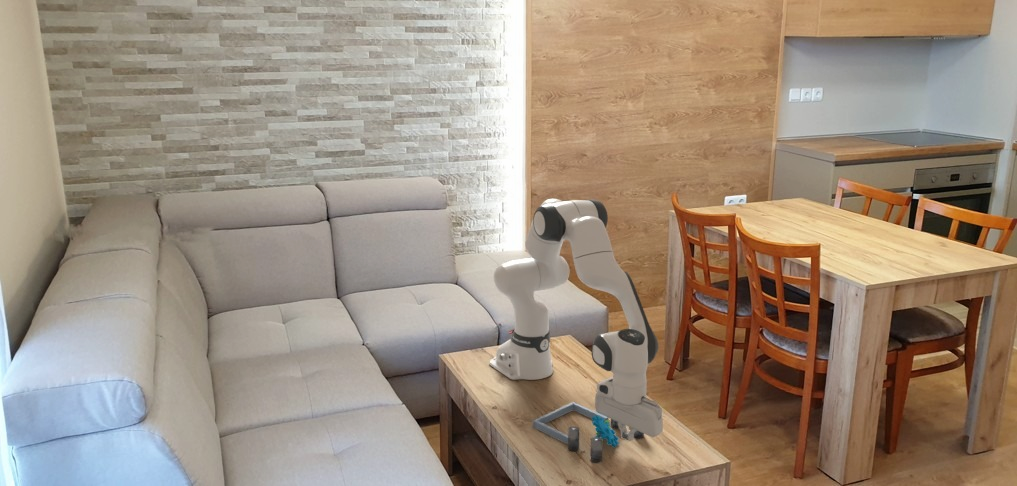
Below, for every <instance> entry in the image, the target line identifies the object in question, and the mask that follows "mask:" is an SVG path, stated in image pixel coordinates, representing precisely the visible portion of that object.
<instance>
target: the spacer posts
mask: <svg viewBox="0 0 1017 486" xmlns="http://www.w3.org/2000/svg"><path fill="white" fill-rule="evenodd" d="M610 427H611V429H613V430H615V429H617V430H618V429H619V427H618V422H617V421H615V420H613V419H611V418H610ZM567 430H568V431H567V435H568V444H567V450H568V451H569V452H578V451H580V427H579V426H576V425H570V426H568V428H567ZM619 430H620V429H619ZM644 437H645V434H644V433H642V432H640V431H637V430H636V432H635V433H634V438H633V439H636V440H642V439H644ZM603 443H604V440H603V439H602V438H601V437H595V436H592V437H591V438H590V462H592V463H593V464H600V463H602V461H603Z"/></svg>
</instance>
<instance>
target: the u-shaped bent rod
mask: <svg viewBox="0 0 1017 486" xmlns="http://www.w3.org/2000/svg"><path fill="white" fill-rule="evenodd" d="M572 411H574V412H576V413H579V414H581V415H582V416H583V415H584V416H585V417H587V418H590V419H592V418H593V417H594V416H595V415H598V416H599V417H600V418H601V417H602V418H603V419H604V420H605V421H606V420H608V421H609V418H608V417H606V416H604V415H602V414H599V413H597V411H596V410H593V409H590V408H588V407H586V406H583V405H582V404H579V403H577V402H574V401H572V402H569V403H567V404H565V405H563V406H561V407H558V408H557V409H555V410H553V411H551V412H548V413H546V414H544V415H542V416H540V417H538V418H536V419H534V420H532V428H534V429H536V430H538V431H540V432H542V433H544V434H545V435H548V436H550V437H552V438H554V439H555V440H558V441H560V442H561V443H563V444H565V445H568V434H566V433H564V432H562V431H560V430H558V429H555V428H554V427H552V426H550V425H547V423H549V422H551V421H553V420H556V419H557V418H560V417H562V416H564V415H566V414H568V413H570V412H572ZM605 421H604V422H605Z"/></svg>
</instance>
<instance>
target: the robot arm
mask: <svg viewBox="0 0 1017 486" xmlns="http://www.w3.org/2000/svg"><path fill="white" fill-rule="evenodd" d="M608 215H609V214H608V212H607V209H606V207H605V205H604V204H603V203H602V202H601V201H599V200H596V199H586V200H585V199H581V200H580V199H571V200H566V201H563V200H561V199H558V198H548V199H546V200H544V201H543V202H542V203H541V204H540V206H538V207H537V208H536V210H535V212H534V213H533V216H532V217H533V218H532V221H531V224H530V226H529V229H528V232H527V235H526V238H525V241H524V247H525V251H526V252H527V254H528V255H529V257H525V258H517V259H511V260H508V261H505V262H503V263H499V265H497V267H496V268H495V270H494V272H493V273H494V274H493V282H494V285H495V287H496V289H497V290H498V291H499V293H501V294H503V295H504V296H506V298H507V299H509V301H510V303H511V305H512V309H513V315H514V317H513V318H514V328H513V329H511V330H509V331H508V332H509V333H508V334H509V335H511V337H510V339H508V340H507V341H505V342H503V343H502V344H500V345H499V347H497V350H496V356H494V357H493V358H491V359H490V360H489V363H488V365H489V366H490V367H492V368H493V369H495V370H497V371H498V372H499V373H501V374H502V375H504V376H505V377H506V378H508V379H509V380H514V381H515V380H529V381H530V380H531V381H532V380H534V381H535V380H536V381H537V380H542V379H545V378H547V377H550V376H551V375H552V374H553V373H554V369H553V360H552V356H551V354H552V353H551V347H550V346H551V345H550V341H551V332H550V330H549V327H550V324H549V321H550V319H549V318H550V312H549V309H548V307H547V305H546V304H545V303H544V302H542V301H540V300H537V299H535V292H540V291H545V290H551V289H555V288H557V287H560V286H561V285H565V284H566V283H567V282H568V279H569V276H570V266H569V264H568V262H567V260H566V259H565V258H564V257H563V256H562V255H560V253H561V249H562V246H563V244H564V241H567V242H569V245H570V248H571V253H572V259H573V264H574V268H575V272H576V275H577V278H578V279H579V280H580V281H581V283H583V285H586V286H587V287H588V288H590V289H591V288H592V289H593V290H597V291H602V292H605V293H608V294H610V295H613V296H614V297H616V299H617V300H618V301H619V303H620V305H621V308H622V310H623V312H624V316H625V318H626V320H627V321H626V322H627V324H628V328H623V329H621V330H618V331H610V332H606V333H605V332H604V333H600V334H598V335H596V336H595V338H594V340H593V341H592V345H591V357H592V358H591V359H592V361H593V362H594V363H595V365H597V366H598V367H599V368H601V369H602V370H605V371H607V372H611V373H612V374H613V376H611V377H609V378H606V379H604V380H601V381H599V382H598V383H597V384H596V390H597V391H596V393H595V398H594V409H595V412H597V413H599V414H602V415H604V416H606V417H608V419H610V420H611V419H613V420H615V421H617V422H618V427H619V431H620V437H621V438H622V439H624V440H627V441H628V442H631V441H633V440H634V439H635V438H634V433H635V432H636V430H637V431H640V432H642V433H644V435H647V436H649V437H651V438H655V437H657V436H659V435H660V434H661V433H662V432H663V430H664V424H663V408H662V407H661V405H660V404H659V403H658V402H657V401H655V400H652V399H650V398H648V397H647V385H648V384H647V383H648V379H647V375H646V374H647V370H648V365H649V364H650V363H652V362H653V360H654V359H655V358H656V356H657V354H658V352H659V341H658V338H657V336H656V334H655V333H654V332H655V331H653V329H652V327H651V326H650V323H649V320H648V318H647V316H646V313H645V311H644V307H643V305H642V302H641V300H640V299H641V298H640V297H639V294H638V291H637V289H636V287H635V285H634V282H633V280H632V278H631V276H630V274H629V273H628V272H626V271H625V270H623V269H622V268H621V266H620V265H619V263H618V262H617V260H616V258H615V254H614V251H613V247H612V242H611V240H610V239H611V238H610V237H609V234H608V230H607V225H608V222H609V221H608V220H609V216H608ZM627 427H628V429H627Z"/></svg>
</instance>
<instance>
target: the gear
mask: <svg viewBox="0 0 1017 486" xmlns="http://www.w3.org/2000/svg"><path fill="white" fill-rule="evenodd" d="M591 419H592V425H593V426H594V427H595V428H594V429H595V431H596V432H595V436H594V437H601V438H602V439H603V441H604V440H605V439H606V444H607V445H608V446H610V445H611V446H612V447H613V448H617V446H619V444H620V442H619V437H618V436H617V435H615V434H616V431H615V429H614V428H612V427H611V423H610V421H609V419H608V420H606V421H605V420H604V419H603V418H602V417H601V418H600V417H599V416H598V415H595V416H594V417H593V418H591ZM604 421H605V422H604Z"/></svg>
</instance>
